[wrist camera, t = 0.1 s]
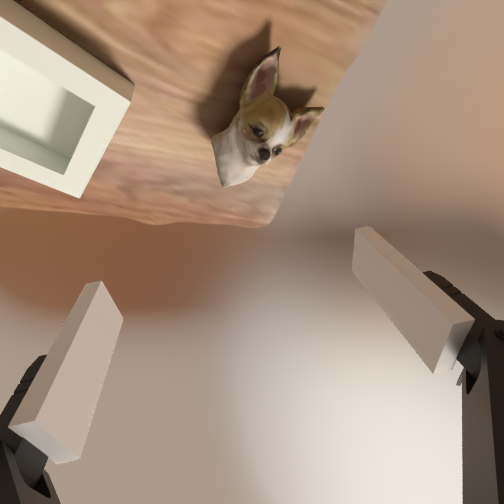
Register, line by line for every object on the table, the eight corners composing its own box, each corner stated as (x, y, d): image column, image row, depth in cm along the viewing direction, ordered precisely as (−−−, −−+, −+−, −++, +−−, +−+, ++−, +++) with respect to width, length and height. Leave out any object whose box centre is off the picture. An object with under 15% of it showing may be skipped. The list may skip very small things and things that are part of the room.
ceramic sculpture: (190, 172, 31) (294, 56, 25) (185, 136, 36) (268, 34, 30) (253, 215, 38) (346, 132, 32) (240, 179, 43) (317, 103, 37)
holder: (-53, -46, 22) (-86, -40, 19) (134, 85, 31) (130, 102, 28) (-68, 109, 29) (-94, 130, 26) (86, 177, 38) (79, 198, 36)
